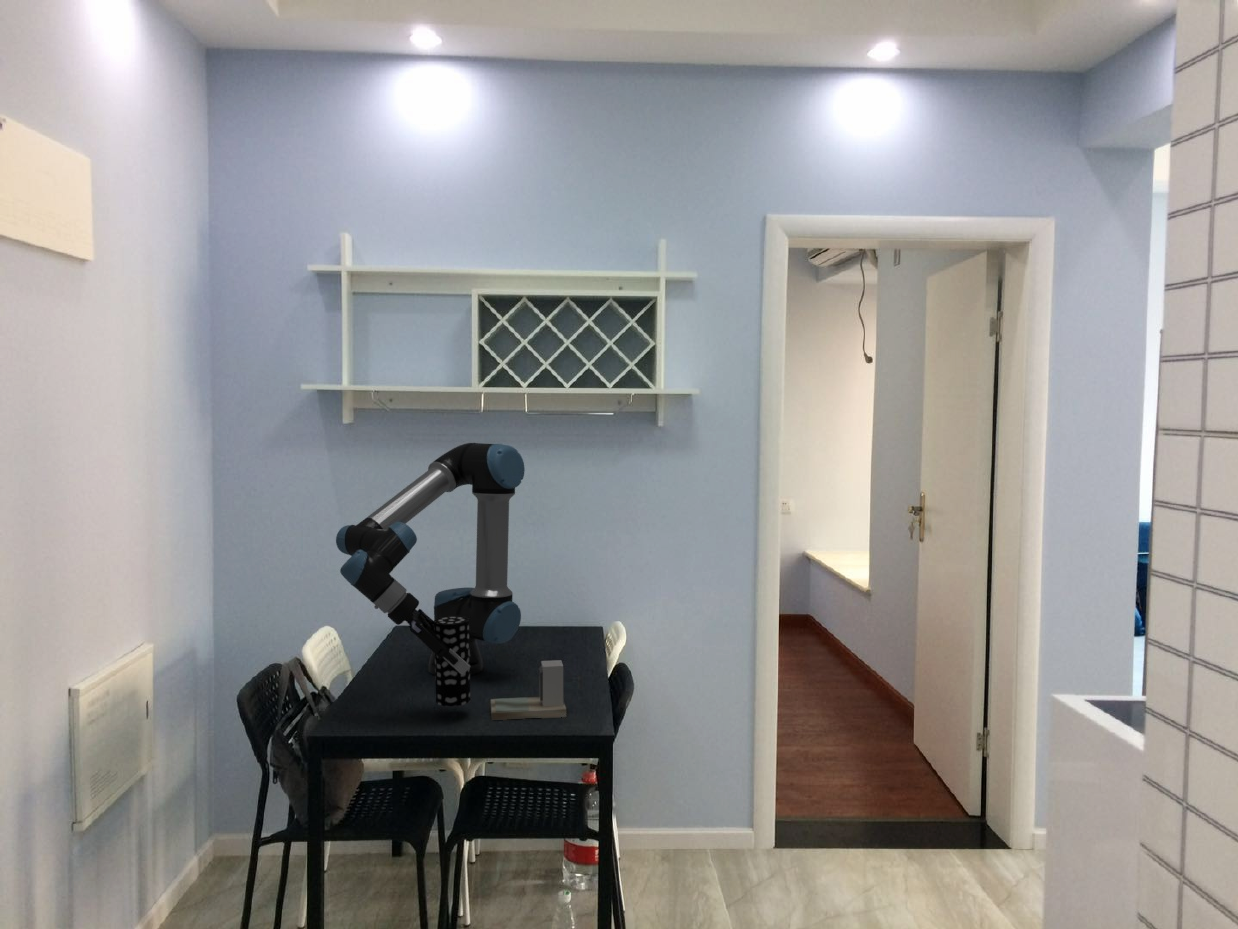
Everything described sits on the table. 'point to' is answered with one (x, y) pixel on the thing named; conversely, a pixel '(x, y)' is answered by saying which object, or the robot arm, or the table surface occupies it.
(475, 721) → the table surface
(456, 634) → the white-spotted black cylinder
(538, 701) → the beige rectangular board
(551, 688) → the block
